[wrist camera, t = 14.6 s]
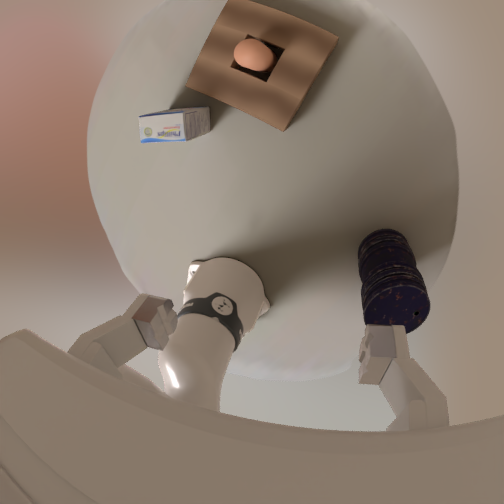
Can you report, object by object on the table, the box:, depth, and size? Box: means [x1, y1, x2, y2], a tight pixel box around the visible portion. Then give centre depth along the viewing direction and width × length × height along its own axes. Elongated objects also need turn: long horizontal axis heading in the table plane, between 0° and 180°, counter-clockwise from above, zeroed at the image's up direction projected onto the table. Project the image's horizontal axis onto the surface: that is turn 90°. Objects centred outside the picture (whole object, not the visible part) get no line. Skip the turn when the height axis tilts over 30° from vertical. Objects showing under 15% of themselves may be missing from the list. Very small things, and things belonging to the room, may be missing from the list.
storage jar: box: [358, 229, 430, 334], centre depth 38 cm, size 10×10×15 cm
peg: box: [234, 39, 278, 73], centre depth 29 cm, size 4×4×8 cm
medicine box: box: [139, 107, 210, 143], centre depth 37 cm, size 8×4×9 cm, turn 90°
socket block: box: [186, 0, 339, 132], centre depth 31 cm, size 16×16×4 cm
